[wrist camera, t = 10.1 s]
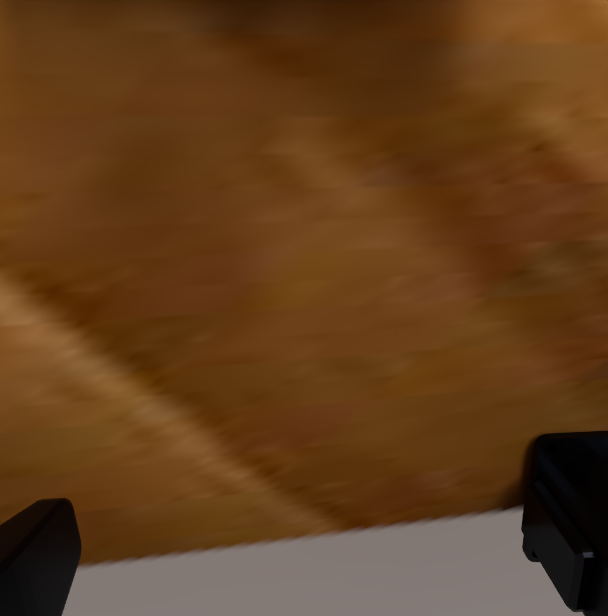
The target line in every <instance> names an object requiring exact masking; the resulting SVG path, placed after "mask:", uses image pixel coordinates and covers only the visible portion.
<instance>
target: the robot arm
mask: <svg viewBox="0 0 608 616" xmlns="http://www.w3.org/2000/svg"><path fill="white" fill-rule="evenodd" d="M550 444H552V446H551V447H550V448H548V449H545V448H546V447H547V446H548V445H550ZM521 530H522V532H523V534H524V538H523V546H522V547H523V552H524V553H525V555H526V557H527V558H528V560H530V561H532V562H540V563H541V564H542V566H543V568H544V569H545V571H546V573H547V574H548V576H549V577H550V579H551V581H552V582H553V584H554V586H555V588H556V589H557V591H558V593H559V594H560V596H561V598H562V599H563V601H564V603H565V604H566V606H567V607H568V608H569V609H571V610H572V611H573V612H583V614H584V615H585V616H608V431H594V432H573V433H553V434H544V435H542V436H540V437H539V438H538V439H537V440H536V442H535V446H534V454H533V462H532V471H531V479H530V481H529V483H528V484H527V486H526V493H525V501H524V510H523V519H522V527H521ZM80 556H81V539H80V534H79V530H78V526H77V521H76V517H75V513H74V509H73V505H72V503H71V502H70V500H68V499H66V498H52V499H41V500H38V501H36V502H35V503H33V504H32V505H30V506H29V507H27V508H26V509H24V510H23V511H21V512H20V513H18V514H16V515H15V516H13V517H12V518H10V519H9V520H7V521H6V522H4V523H3V524H1V525H0V616H61V615H62V613H63V610H64V607H65V604H66V600H67V597H68V594H69V591H70V588H71V585H72V582H73V579H74V576H75V573H76V569H77V566H78V563H79V560H80Z"/></svg>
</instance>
